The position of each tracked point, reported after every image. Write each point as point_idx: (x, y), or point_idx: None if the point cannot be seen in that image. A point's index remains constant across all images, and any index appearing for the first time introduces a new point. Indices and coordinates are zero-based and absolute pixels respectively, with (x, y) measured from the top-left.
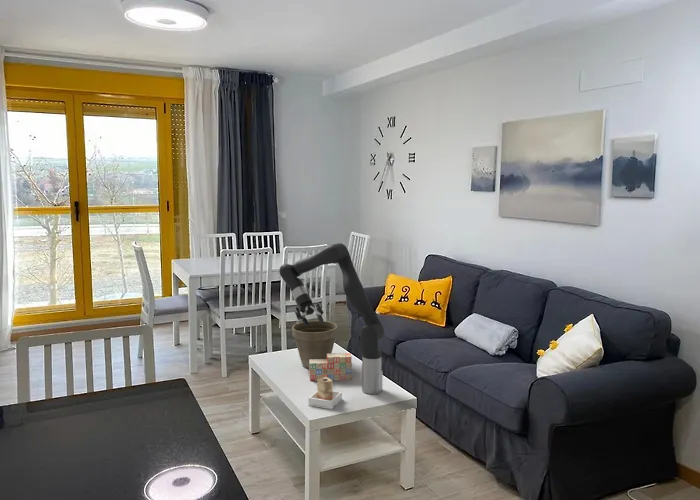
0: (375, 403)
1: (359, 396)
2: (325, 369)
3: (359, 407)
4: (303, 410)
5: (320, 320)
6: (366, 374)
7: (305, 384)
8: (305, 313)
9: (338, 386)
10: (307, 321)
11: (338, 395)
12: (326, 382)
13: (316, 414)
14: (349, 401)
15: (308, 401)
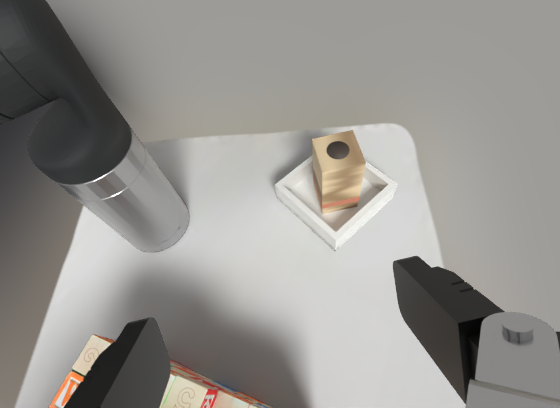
0: (206, 146)
1: (217, 199)
2: (238, 395)
3: (257, 140)
4: (416, 171)
5: (148, 361)
6: (161, 171)
7: (352, 388)
8: (507, 388)
9: (234, 302)
10: (419, 277)
11: (295, 168)
12: (339, 134)
13: (384, 140)
14: (263, 179)
15: (394, 190)
